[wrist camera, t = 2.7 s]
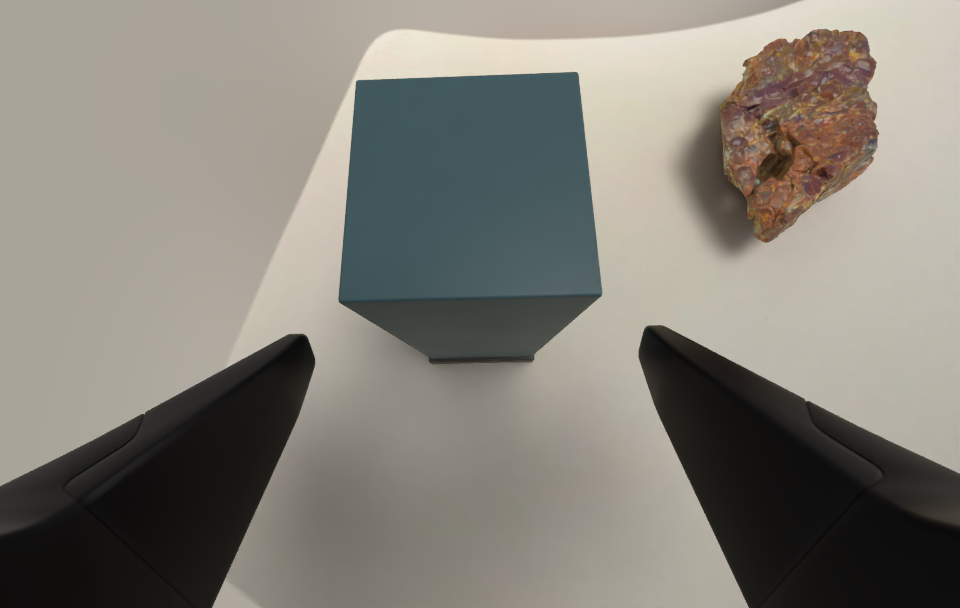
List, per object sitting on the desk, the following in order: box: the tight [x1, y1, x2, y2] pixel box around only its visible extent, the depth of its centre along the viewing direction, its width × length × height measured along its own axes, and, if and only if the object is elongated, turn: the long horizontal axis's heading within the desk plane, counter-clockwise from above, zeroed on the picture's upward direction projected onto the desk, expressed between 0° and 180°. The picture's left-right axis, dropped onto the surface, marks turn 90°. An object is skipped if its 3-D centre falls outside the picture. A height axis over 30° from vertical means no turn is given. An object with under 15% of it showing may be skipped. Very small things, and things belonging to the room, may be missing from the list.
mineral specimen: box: [720, 29, 879, 243], centre depth 20 cm, size 12×8×7 cm
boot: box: [339, 72, 602, 364], centre depth 15 cm, size 10×6×13 cm, turn 1°
